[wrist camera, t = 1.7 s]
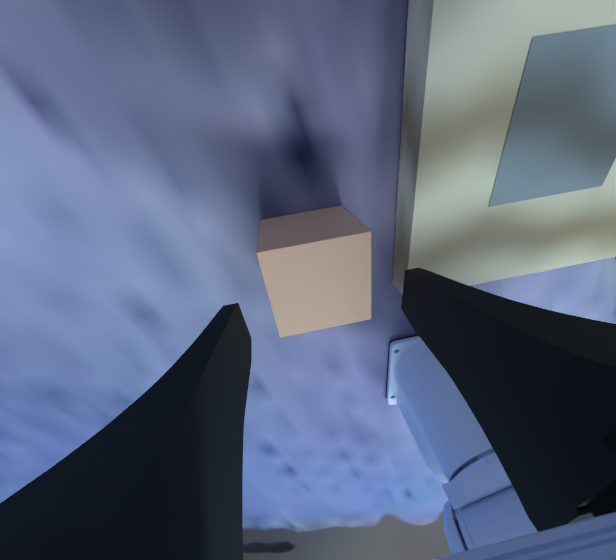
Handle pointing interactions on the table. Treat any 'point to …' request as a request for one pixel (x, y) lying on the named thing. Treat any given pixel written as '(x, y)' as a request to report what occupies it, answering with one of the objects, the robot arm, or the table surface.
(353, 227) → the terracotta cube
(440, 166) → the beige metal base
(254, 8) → the table surface
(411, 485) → the table surface
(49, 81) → the table surface
